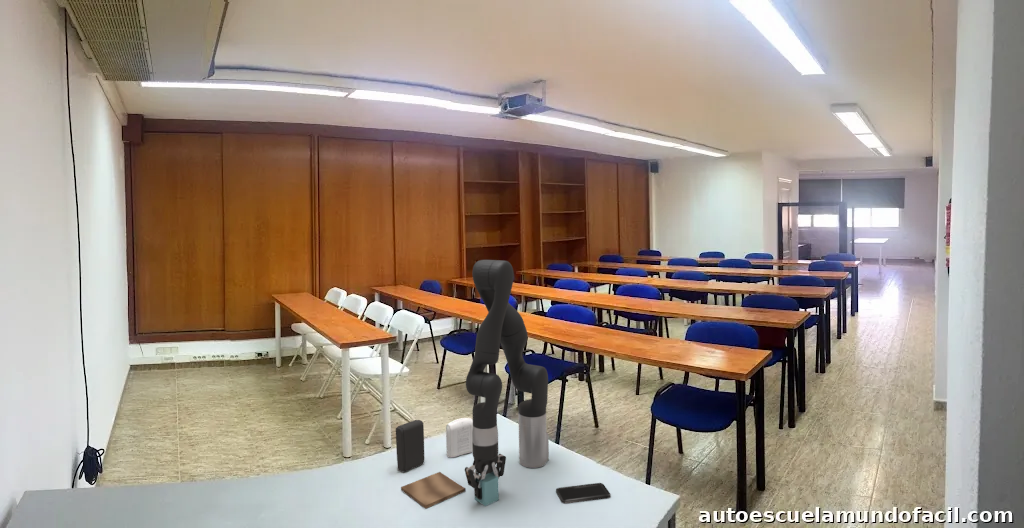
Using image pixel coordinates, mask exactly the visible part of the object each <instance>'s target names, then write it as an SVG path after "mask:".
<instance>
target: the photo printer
mask: <svg viewBox="0 0 1024 528" xmlns="http://www.w3.org/2000/svg"><path fill="white" fill-rule="evenodd" d="M472 429H473V418H471V417H462V418H461V417H460V418H457V419H454V420H452V421H450V422H448V423H447V424H446V427H445V435H446V436H445V439H446V443H445V444H446V447H445V448H446V457H448V458H456V457H458V456H462V455H465V454H471V453H473V448H472Z"/></svg>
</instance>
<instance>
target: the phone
mask: <svg viewBox="0 0 1024 528" xmlns="http://www.w3.org/2000/svg"><path fill="white" fill-rule="evenodd" d="M555 493H556V495H557V496H558V498H559V501H560V502H561V504H564V505H568V504H574V503H575V504H576V503H584V502H592V501H598V500H606V499H610V498H611V493H610V491H609V490H608V488H607V487H606V486H605V484H604V483H603V482H595V483H587V484H586V483H585V484H579V485H570V486H561V487H557V488H556V489H555Z"/></svg>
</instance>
